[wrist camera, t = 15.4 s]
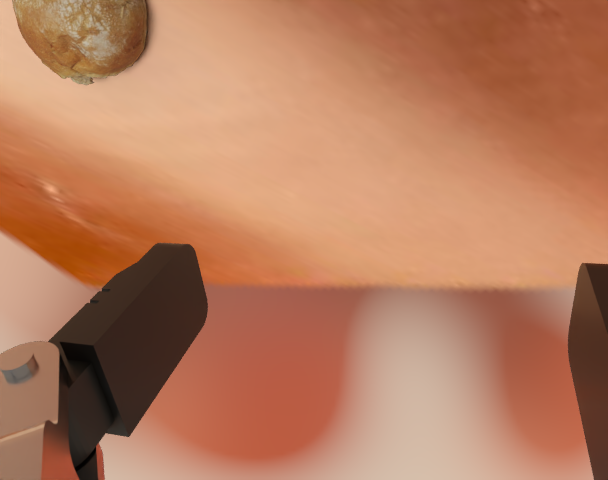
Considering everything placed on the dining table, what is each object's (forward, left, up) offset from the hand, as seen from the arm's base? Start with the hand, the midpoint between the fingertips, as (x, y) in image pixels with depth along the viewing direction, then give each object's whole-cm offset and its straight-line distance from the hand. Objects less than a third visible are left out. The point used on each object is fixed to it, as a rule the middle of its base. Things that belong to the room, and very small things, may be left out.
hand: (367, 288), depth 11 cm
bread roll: (-3, -27, -30) cm, 41 cm away
